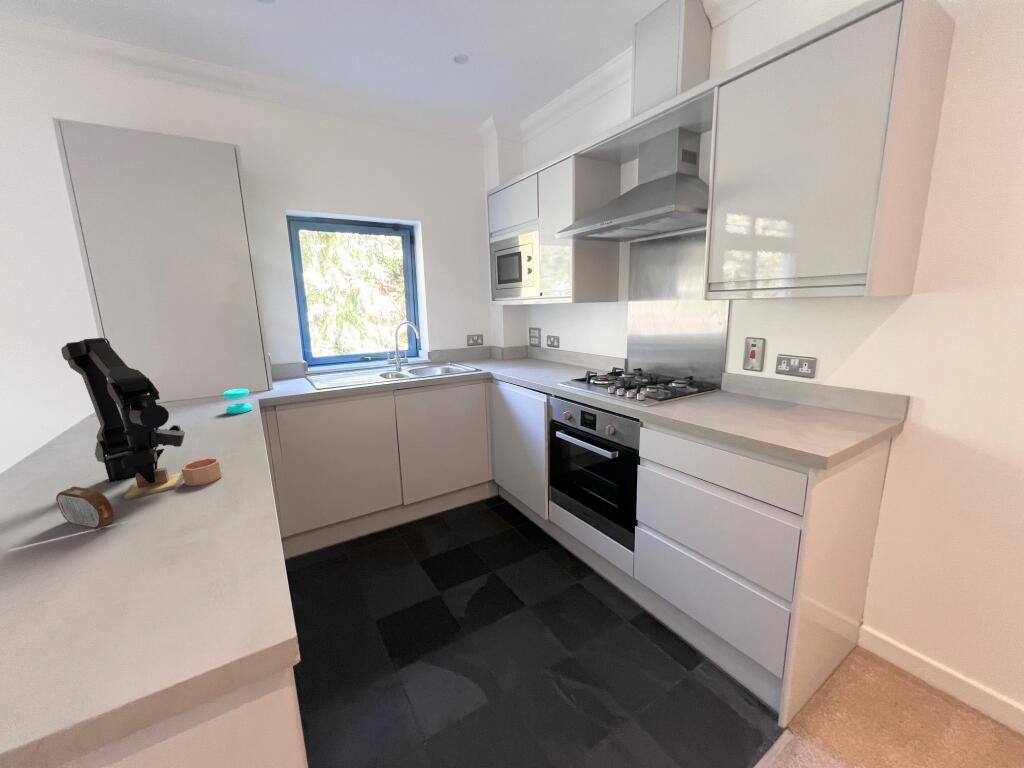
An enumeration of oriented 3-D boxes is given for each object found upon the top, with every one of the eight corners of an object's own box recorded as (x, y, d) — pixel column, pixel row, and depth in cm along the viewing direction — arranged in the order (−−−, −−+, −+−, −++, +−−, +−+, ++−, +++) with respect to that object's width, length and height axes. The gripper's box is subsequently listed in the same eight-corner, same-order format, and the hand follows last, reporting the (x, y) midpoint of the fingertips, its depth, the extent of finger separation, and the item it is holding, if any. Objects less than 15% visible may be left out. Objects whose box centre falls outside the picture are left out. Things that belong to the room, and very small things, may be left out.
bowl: (184, 490, 109) (180, 472, 108) (188, 480, 116) (184, 463, 115) (221, 482, 113) (217, 464, 112) (223, 472, 120) (219, 455, 119)
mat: (119, 503, 104) (118, 502, 103) (130, 486, 114) (130, 485, 114) (180, 489, 110) (179, 488, 109) (186, 474, 120) (185, 473, 120)
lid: (125, 499, 105) (120, 483, 104) (134, 485, 113) (130, 470, 112) (175, 488, 110) (171, 472, 109) (180, 475, 118) (177, 461, 117)
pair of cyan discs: (237, 392, 185) (216, 393, 186) (241, 414, 187) (221, 415, 188) (253, 387, 194) (234, 388, 196) (257, 408, 196) (238, 409, 198)
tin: (119, 525, 93) (109, 489, 91) (102, 533, 90) (91, 496, 88) (78, 517, 98) (68, 483, 96) (60, 524, 95) (49, 489, 93)
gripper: (173, 425, 104) (186, 484, 107) (183, 411, 120) (194, 462, 123) (113, 435, 99) (129, 497, 102) (132, 418, 114) (145, 472, 118)
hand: (153, 481), depth 111 cm, fingers closed on lid, 2 cm apart
